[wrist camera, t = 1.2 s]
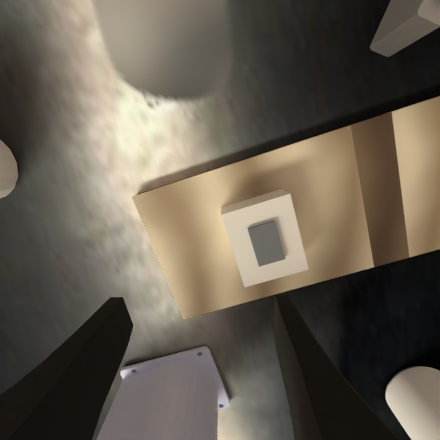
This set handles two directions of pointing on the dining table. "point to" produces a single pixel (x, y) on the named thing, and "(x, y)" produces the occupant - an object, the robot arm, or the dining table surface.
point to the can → (416, 401)
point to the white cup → (7, 170)
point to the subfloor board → (306, 208)
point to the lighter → (405, 24)
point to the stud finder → (265, 237)
